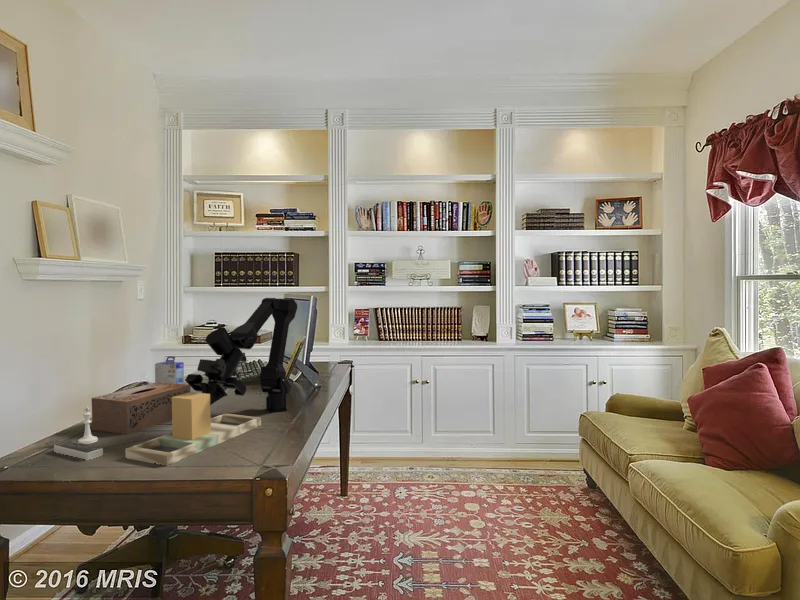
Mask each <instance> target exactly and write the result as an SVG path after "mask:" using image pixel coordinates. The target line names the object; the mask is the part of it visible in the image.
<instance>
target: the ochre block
mask: <svg viewBox="0 0 800 600" xmlns="http://www.w3.org/2000/svg"><path fill="white" fill-rule="evenodd" d="M211 415H212V414H211V405H210V394H205V393H202V392H197V391H191V392H189V393H185V394H182V395H178V396H175V397H172V419H171V421H172V425H171V426H172V432H173V437H177V438H184V439H191V440H193V439H196V438H198V437H201V436H203V435H206V434H208V433H211V418H212V417H211Z"/></svg>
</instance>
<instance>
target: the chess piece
mask: <svg viewBox="0 0 800 600" xmlns="http://www.w3.org/2000/svg"><path fill="white" fill-rule="evenodd" d="M84 411H85V412H84ZM90 411H92V407H91V408H89V406H85V408H83V414H82V416H83V418H84V420H83V421H82V423H83V424H85V425H84V434H83V436H82V437H81V438H79V439H77V442H78V443H82V444H87V445H90V444H93V443H97V442H98V441H99V438H98V437H97V436H94V435H93V434H92V431H91V428H90V427H91V426H90V424H92V419H91V417H92V412H90ZM90 419H91V420H90Z"/></svg>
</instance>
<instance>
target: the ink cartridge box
mask: <svg viewBox="0 0 800 600" xmlns="http://www.w3.org/2000/svg"><path fill="white" fill-rule="evenodd" d="M166 357H167V358H166V359H165V361H161V362H156V363H154V383H155V382H165V383H177V384H185V382H184V381H185V376H184V374H185V372H184V371H185V370H184V362H182V361H181V362H180V361H177V362H176V361H175V360H176V356H166Z"/></svg>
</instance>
